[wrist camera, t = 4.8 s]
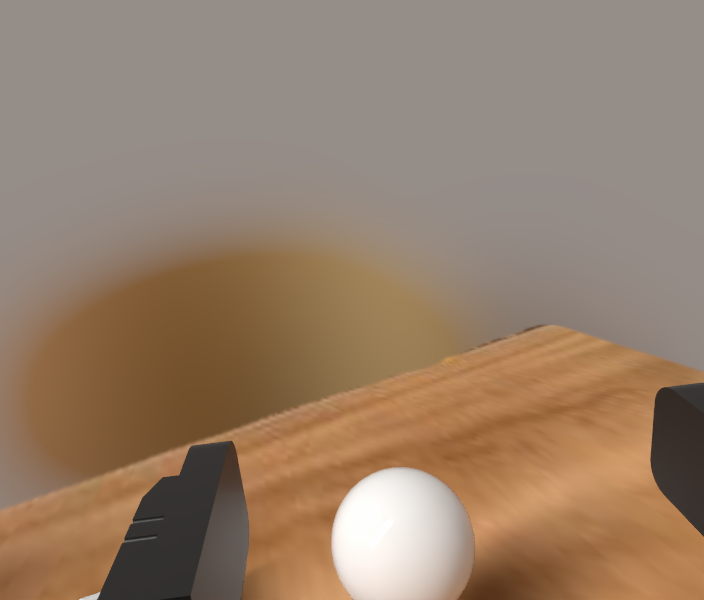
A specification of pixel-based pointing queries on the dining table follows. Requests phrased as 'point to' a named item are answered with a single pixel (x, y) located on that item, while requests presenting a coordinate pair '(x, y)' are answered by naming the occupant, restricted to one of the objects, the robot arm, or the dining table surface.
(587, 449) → the dining table surface
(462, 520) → the lightbulb
